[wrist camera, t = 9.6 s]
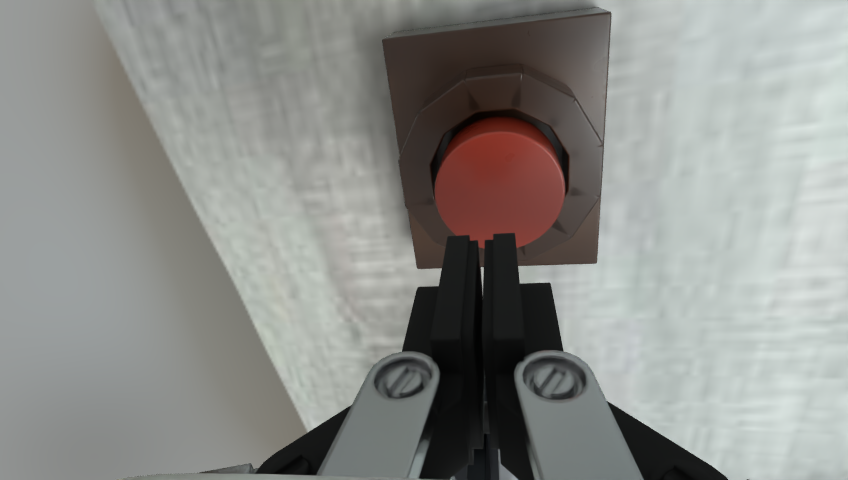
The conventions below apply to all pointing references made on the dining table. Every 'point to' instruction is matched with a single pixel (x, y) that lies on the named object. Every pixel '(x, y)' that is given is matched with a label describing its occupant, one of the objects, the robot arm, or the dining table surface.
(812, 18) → the dining table surface
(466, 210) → the button
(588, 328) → the dining table surface
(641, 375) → the dining table surface
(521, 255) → the button box
